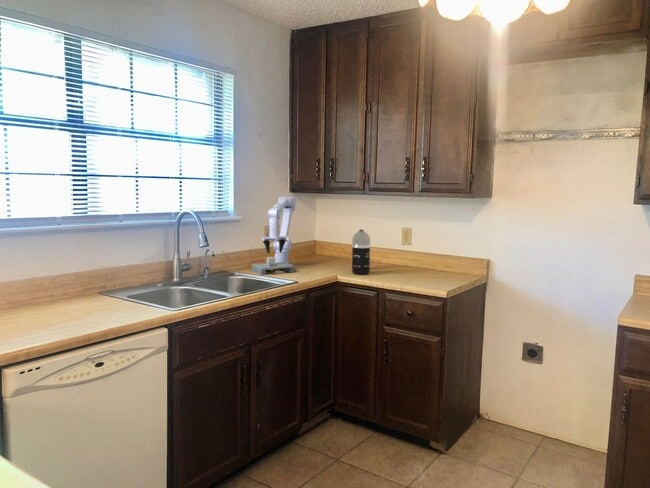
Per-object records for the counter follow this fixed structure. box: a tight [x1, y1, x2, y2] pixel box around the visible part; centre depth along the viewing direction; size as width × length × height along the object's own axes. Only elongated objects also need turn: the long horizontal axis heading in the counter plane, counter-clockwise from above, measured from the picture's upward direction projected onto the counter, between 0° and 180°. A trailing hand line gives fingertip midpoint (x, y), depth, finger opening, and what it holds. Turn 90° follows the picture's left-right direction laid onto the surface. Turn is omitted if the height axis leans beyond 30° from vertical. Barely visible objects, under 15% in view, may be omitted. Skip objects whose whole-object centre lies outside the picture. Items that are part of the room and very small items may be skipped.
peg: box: [265, 256, 275, 271], centre depth 306 cm, size 4×4×7 cm
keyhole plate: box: [251, 262, 296, 276], centre depth 303 cm, size 16×20×4 cm
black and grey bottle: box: [351, 229, 371, 276], centre depth 296 cm, size 10×10×25 cm
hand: (274, 252), depth 307 cm, fingers open, 7 cm apart
